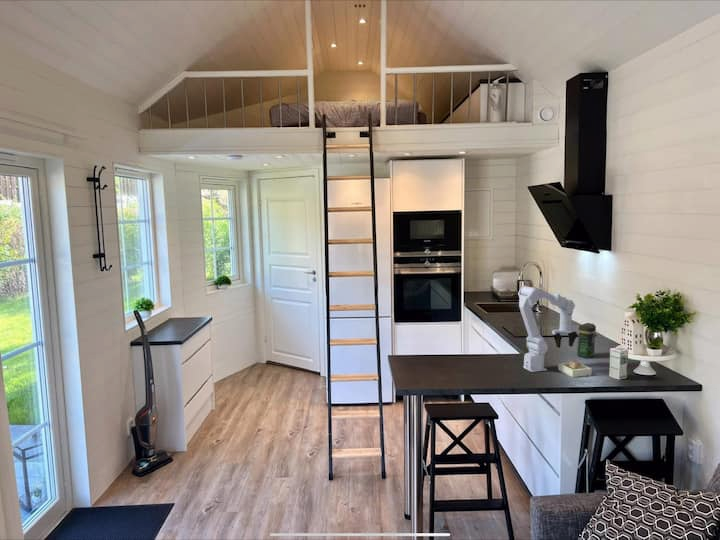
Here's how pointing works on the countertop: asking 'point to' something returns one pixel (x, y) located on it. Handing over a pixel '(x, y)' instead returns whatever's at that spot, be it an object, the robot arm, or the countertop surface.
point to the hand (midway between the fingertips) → (564, 346)
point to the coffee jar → (586, 340)
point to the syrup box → (618, 363)
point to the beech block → (574, 365)
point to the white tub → (574, 373)
